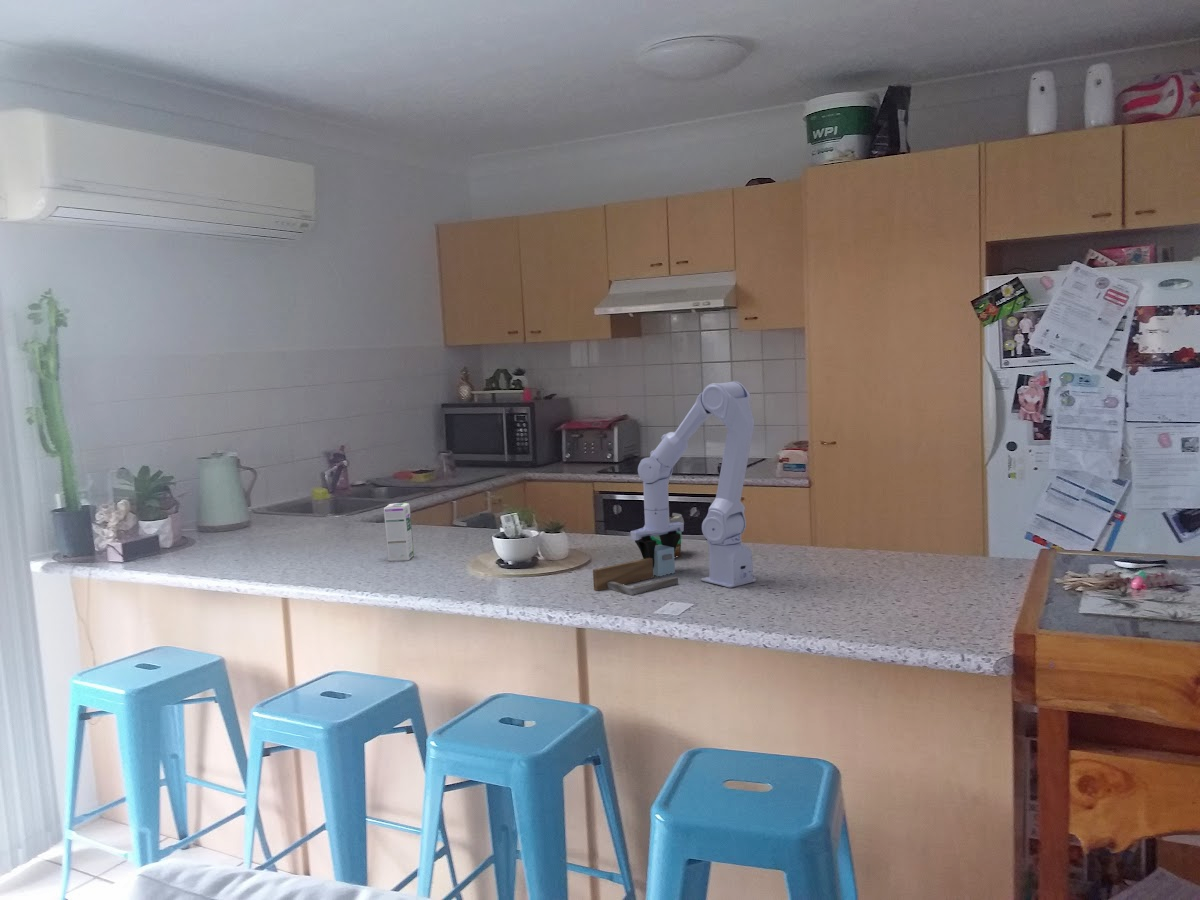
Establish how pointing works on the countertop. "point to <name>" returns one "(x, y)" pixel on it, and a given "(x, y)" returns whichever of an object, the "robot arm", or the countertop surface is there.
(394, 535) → the syrup box
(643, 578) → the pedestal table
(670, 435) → the robot arm
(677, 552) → the food container
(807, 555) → the countertop surface
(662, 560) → the cabinet block
